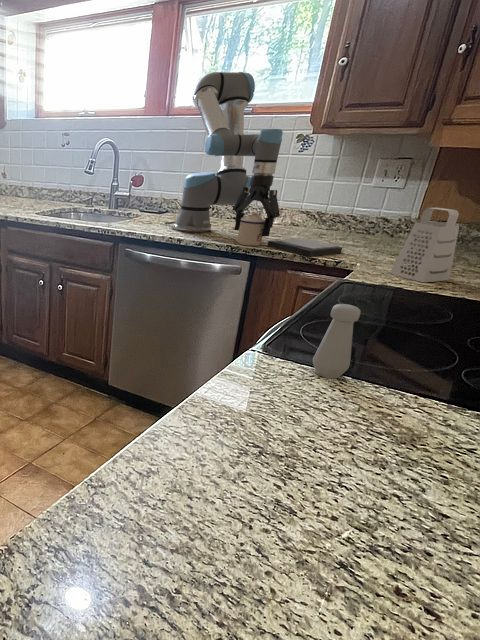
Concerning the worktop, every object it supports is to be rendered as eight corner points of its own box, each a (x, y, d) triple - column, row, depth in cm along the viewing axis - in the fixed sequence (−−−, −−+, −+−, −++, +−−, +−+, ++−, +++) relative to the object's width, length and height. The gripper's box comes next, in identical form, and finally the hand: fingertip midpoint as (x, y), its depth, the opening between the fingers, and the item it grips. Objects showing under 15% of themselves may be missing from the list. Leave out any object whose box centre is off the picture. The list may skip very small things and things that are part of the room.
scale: (267, 246, 197) (268, 239, 196) (297, 243, 203) (299, 236, 202) (308, 256, 182) (310, 249, 181) (340, 253, 188) (342, 246, 187)
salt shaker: (333, 367, 98) (353, 300, 93) (353, 380, 93) (375, 311, 88) (303, 367, 98) (321, 300, 93) (321, 380, 93) (341, 311, 87)
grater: (422, 282, 153) (447, 212, 145) (389, 273, 162) (411, 207, 154) (449, 280, 156) (474, 211, 148) (414, 271, 165) (437, 206, 157)
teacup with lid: (261, 246, 196) (268, 215, 191) (235, 244, 199) (241, 213, 195) (261, 241, 206) (268, 210, 201) (236, 239, 209) (242, 209, 205)
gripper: (229, 172, 202) (219, 228, 210) (283, 177, 180) (270, 239, 189) (244, 171, 204) (234, 227, 213) (299, 177, 183) (285, 238, 192)
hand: (251, 233), depth 201 cm, fingers open, 13 cm apart
